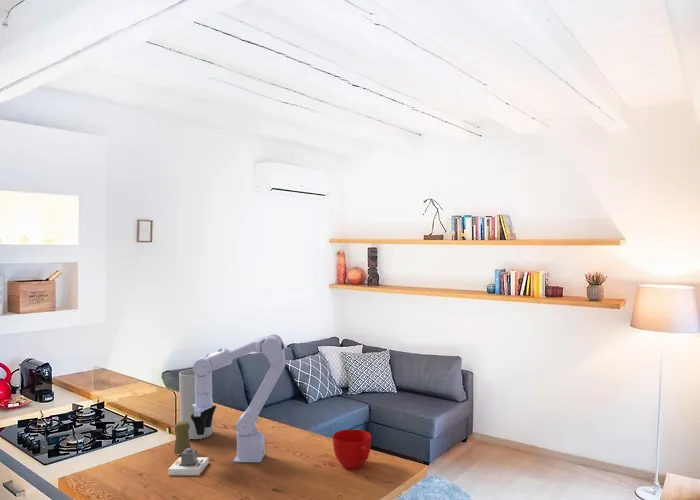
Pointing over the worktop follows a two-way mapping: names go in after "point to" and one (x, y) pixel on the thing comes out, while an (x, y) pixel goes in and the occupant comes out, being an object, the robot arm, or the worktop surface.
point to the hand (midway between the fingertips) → (204, 430)
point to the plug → (189, 457)
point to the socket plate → (188, 467)
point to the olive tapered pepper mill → (181, 437)
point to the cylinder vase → (190, 403)
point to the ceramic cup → (352, 447)
